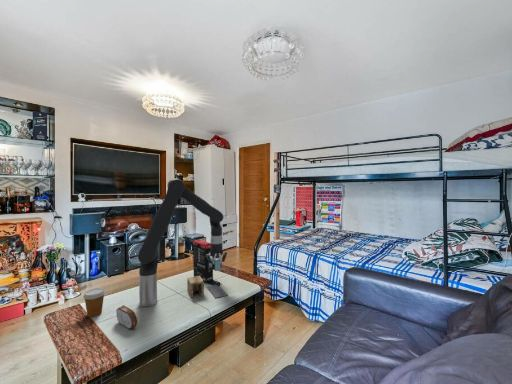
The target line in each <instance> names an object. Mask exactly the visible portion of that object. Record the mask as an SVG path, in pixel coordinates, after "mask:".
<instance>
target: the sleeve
mask: <svg viewBox="0 0 512 384" xmlns="http://www.w3.org/2000/svg"><path fill="white" fill-rule="evenodd" d="M186 282H187V284H186V285H187V286H186V287H187V291H186V292H187V294H188V295H189V298H190V299H193V298H194V292H199V294H200V295H201V297H204V296H205V282H204V281H203V279H202V278H201V277H200V276H195V277H194V276H190V277H187V281H186Z"/></svg>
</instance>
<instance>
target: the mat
mask: <svg viewBox="0 0 512 384" xmlns="http://www.w3.org/2000/svg"><path fill="white" fill-rule="evenodd" d="M217 285H218V284H214V285H210V286H209V285H208V286H206V288H207V290H208V291H209V292H210V294H211V295H212V296H213V298H214V299H219V298H220V299H221V298H224V297H228V296H229V294H228V293H227V292H226V291H225V290H224V289H223V288H222V287H221V286H220V285H219V286H217Z"/></svg>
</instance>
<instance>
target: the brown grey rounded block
mask: <svg viewBox="0 0 512 384" xmlns="http://www.w3.org/2000/svg"><path fill="white" fill-rule="evenodd" d="M116 319H117V321H118V323H119V324H120V325H122V326H123V327H124V328H126V329H128V330H131V329H134V328H136V327H137V326H138V317H137V315H136V312H135V311H134V310H133V309H131V308H129V307H127V306H126V305H122V306H119V307H118V308H116Z"/></svg>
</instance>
